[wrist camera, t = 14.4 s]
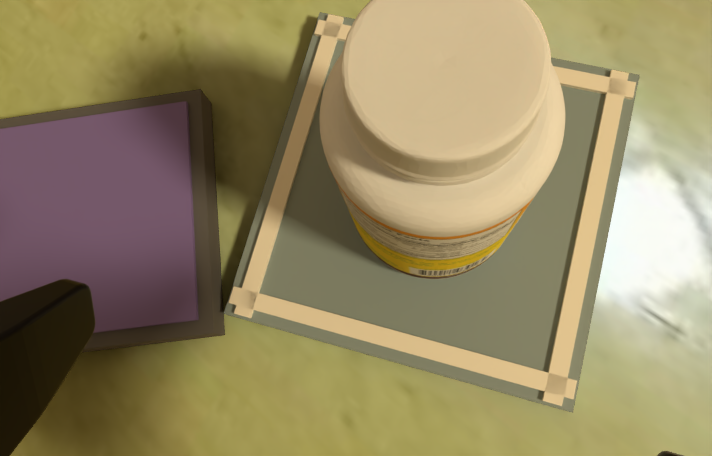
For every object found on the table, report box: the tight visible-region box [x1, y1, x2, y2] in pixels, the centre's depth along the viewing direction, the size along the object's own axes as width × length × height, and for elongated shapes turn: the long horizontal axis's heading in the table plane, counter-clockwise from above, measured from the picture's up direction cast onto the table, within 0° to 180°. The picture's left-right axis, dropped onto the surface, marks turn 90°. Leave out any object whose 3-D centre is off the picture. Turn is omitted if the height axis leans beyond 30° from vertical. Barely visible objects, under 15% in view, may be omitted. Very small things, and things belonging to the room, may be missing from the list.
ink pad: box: [0, 89, 225, 352], centre depth 22 cm, size 9×9×1 cm
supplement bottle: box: [319, 0, 565, 279], centre depth 16 cm, size 6×6×10 cm
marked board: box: [224, 12, 639, 413], centre depth 21 cm, size 12×12×1 cm
